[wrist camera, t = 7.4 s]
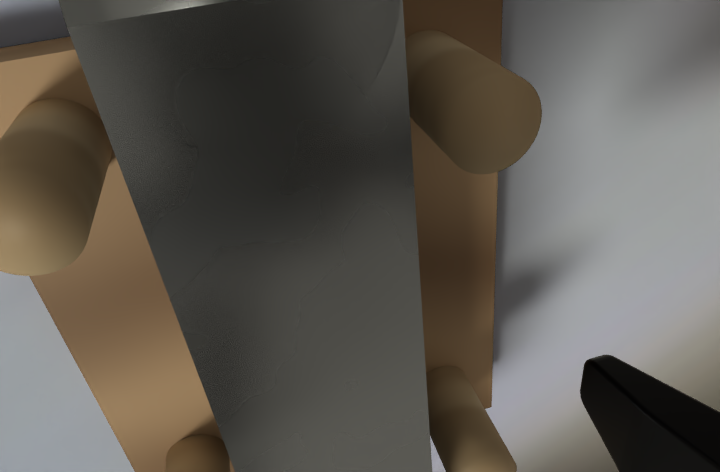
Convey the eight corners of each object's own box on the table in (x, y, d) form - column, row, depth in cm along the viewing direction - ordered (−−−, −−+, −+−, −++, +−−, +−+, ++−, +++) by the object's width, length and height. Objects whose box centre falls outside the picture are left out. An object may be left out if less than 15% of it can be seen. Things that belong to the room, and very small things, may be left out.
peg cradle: (474, 378, 18) (542, 495, 15) (155, 468, 17) (147, 623, 13) (476, -31, 12) (600, 5, 8) (-54, 57, 10) (-180, 148, 7)
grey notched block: (395, 491, 18) (441, 627, 15) (287, 525, 18) (311, 672, 14) (310, -188, 9) (388, -232, 5) (68, -160, 8) (-15, -191, 5)
